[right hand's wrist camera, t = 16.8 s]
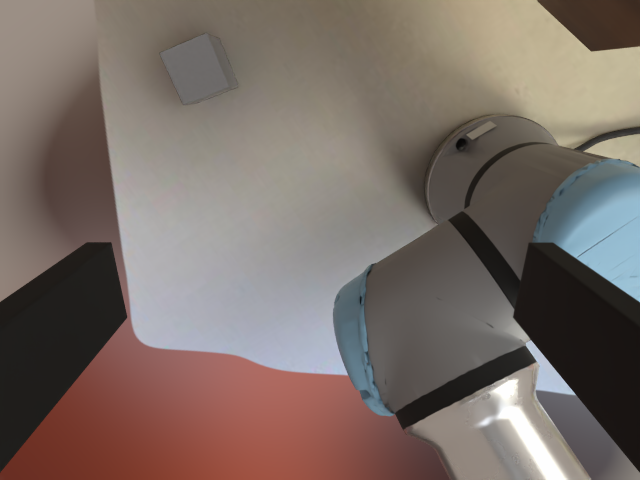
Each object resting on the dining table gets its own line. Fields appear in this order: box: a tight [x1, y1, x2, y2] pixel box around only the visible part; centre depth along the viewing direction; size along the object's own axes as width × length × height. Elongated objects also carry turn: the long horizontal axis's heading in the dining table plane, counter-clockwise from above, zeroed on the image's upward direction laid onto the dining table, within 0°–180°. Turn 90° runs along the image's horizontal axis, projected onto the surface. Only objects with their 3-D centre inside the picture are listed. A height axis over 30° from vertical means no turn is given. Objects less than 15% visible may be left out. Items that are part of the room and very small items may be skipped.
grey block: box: [159, 33, 239, 105], centre depth 40 cm, size 5×5×5 cm
